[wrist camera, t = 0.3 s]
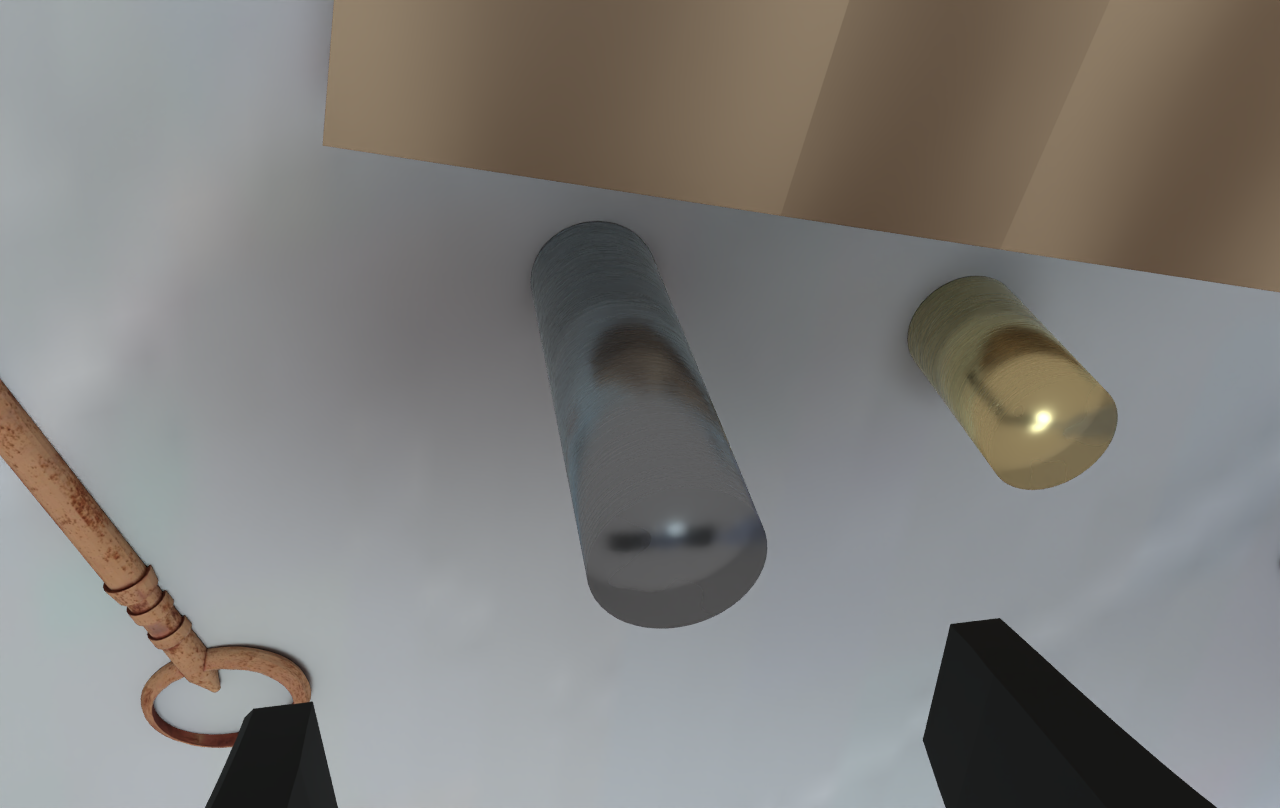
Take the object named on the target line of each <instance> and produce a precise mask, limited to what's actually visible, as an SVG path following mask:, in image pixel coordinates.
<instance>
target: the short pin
mask: <svg viewBox="0 0 1280 808" xmlns="http://www.w3.org/2000/svg"><path fill="white" fill-rule="evenodd" d="M908 347H909V351H910V354H911V356H912V358H913V359H914V361H915V362H916V364H917V365H918V366H919V368H920V369H921V370H922V372H923V373H924V375H925V376H926V377H927V379H928V380H929V382H930V383H931V384H932V386H933V387H934V388H935V390H936V391H937V393H938V394H939V395H940V397H941V398H942V399H943V401H944V402H945V404H946V405H947V406H948V408H949V409H950V411H951V412H952V413H953V415H954V416H955V417H956V419H957V420H958V422H959V423H960V424H961V426H962V427H963V428H964V430H965V431H966V433H967V434H968V435H969V437H970V438H971V440H972V441H973V442H974V444H975V445H976V446H977V448H978V449H979V451H980V452H981V453H982V455H983V456H984V458H985V459H986V460H987V462H988V463H989V464H990V466H991V467H992V469H993V470H994V471H995V473H996V474H997V475H998V477H999V478H1000V479H1001V480H1002V481H1004V482H1005V483H1007V484H1009V485H1011V486H1013V487H1016V488H1020V489H1026V490H1037V489H1045V488H1050V487H1054V486H1057V485H1060V484H1062V483H1065V482H1067V481H1069V480H1071V479H1073V478H1075V477H1076V476H1078V475H1080V474H1081V473H1083V472H1084V471H1085V470H1087V469H1088V468H1089V467H1090V466H1092V465H1093V464H1094V463H1095V462H1096V461H1097V460H1098V459H1099V458H1100V457H1101V455H1102V454H1103V453H1104V452H1105V450H1106V449H1107V447H1108V446H1109V444H1110V442H1111V440H1112V438H1113V436H1114V433H1115V430H1116V426H1117V417H1118V415H1117V408H1116V405H1115V402H1114V400H1113V399H1112V397H1111V396H1110V395H1109V393H1108V392H1107V391H1106V390H1105V389H1104V388H1103V387H1102V386H1101V385H1100V384H1099V383H1098V382H1097V381H1096V380H1095V379H1094V378H1093V377H1092V376H1091V375H1090V373H1089V372H1088V371H1087V370H1086V369H1085V368H1084V367H1083V366H1082V365H1081V364H1080V363H1079V362H1078V361H1077V360H1076V359H1075V358H1074V357H1073V356H1072V355H1071V354H1070V353H1069V352H1068V351H1067V349H1066V348H1065V347H1064V346H1063V345H1062V344H1061V343H1060V342H1059V341H1058V340H1057V339H1056V338H1055V337H1054V336H1053V335H1052V334H1051V333H1050V332H1049V331H1048V330H1047V329H1046V328H1045V327H1044V325H1043V324H1042V323H1041V322H1040V321H1039V320H1038V319H1037V318H1036V317H1035V316H1034V315H1033V314H1032V313H1031V312H1030V311H1029V310H1028V309H1027V308H1026V307H1025V306H1024V305H1023V304H1022V303H1021V301H1020V300H1019V299H1018V298H1017V297H1016V296H1015V295H1014V294H1013V293H1012V292H1011V291H1010V290H1009V289H1008V288H1007V287H1006V286H1005V285H1004V284H1002V283H1001V282H999V281H997V280H995V279H992V278H988V277H983V276H970V277H965V278H961V279H957V280H954V281H952V282H949V283H947V284H945V285H944V286H942V287H940V288H939V289H937V290H936V291H934V292H933V293H932V294H931V295H930V296H929V297H928V298H927V299H926V300H925V301H924V302H923V303H922V304H921V305H920V307H919V308H918V309H917V311H916V313H915V314H914V316H913V318H912V321H911V323H910V326H909V331H908Z"/></svg>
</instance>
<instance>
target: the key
mask: <svg viewBox="0 0 1280 808" xmlns="http://www.w3.org/2000/svg"><path fill="white" fill-rule="evenodd" d="M0 455H1V457H2V458H3V459H4V460H5V461H6V463H7V464H8V465H9V466H10V468H11V469H12V470H13V471H14V473H15V474H16V475H17V476H18V477H19V479H20V480H21V481H22V482H23V484H24V485H25V486H26V487H27V488H28V490H29V491H30V492H31V493H32V495H33V496H34V497H35V498H36V499H37V501H38V502H39V503H40V504H41V506H42V507H43V508H44V509H45V510H46V512H47V513H48V514H49V515H50V517H51V518H52V519H53V520H54V521H55V523H56V524H57V525H58V526H59V528H60V529H61V530H62V531H63V532H64V534H65V535H66V536H67V537H68V539H69V540H70V541H71V542H72V544H73V545H74V546H75V547H76V548H77V550H78V551H79V552H80V553H81V555H82V556H83V557H84V558H85V559H86V561H87V562H88V563H89V564H90V566H91V567H92V568H93V569H94V570H95V572H96V573H97V574H98V575H99V577H100V578H101V579H102V580H103V581H104V585H103V588H104V591H105V592H106V593H108V594H109V595H110V596H111V597H112V598H113V599H114V600H116V601H117V602H118V603H119V604H120V605H123V606H127V613H128V614H129V616H130V617H131V618H132V619H133V620H134V622H135V623H136V624H137V625H139V626H144V628H145V629H146V630H147V631H148V634H147V635H148V638H149V639H150V641H151V642H152V643H153V644H154V646H155V647H156V648H158V649H162V650H163V651H164V652H165V654H166V655H167V656H168V657H169V658H170V660H171V662H170V663H168V664H166V665H165V666H163V667H162V668H161V669H159V670H158V671H157V672H156V673H155V674H154V675H153V676H152V677H151V678H150V679H149V680H148V682H147V683H146V684H145V686H144V688H143V690H142V695H141V707H142V710H143V713H144V715H145V718H146V719H147V721H148V722H149V724H150V725H151V726H152V727H153V728H154V729H155V730H157V731H158V732H160V733H161V734H163V735H164V736H166V737H169V738H171V739H173V740H176V741H180V742H183V743H186V744H190V745H194V746H200V747H212V748H224V747H233V745H234V743H235V740H236V738H237V736H238V733H239V732H237V733H230V734H217V735H209V734H198V733H191V732H187V731H184V730H180V729H178V728H175V727H173V726H171V725H169V724H168V723H166V722H165V721H164V720H163V719H161V718H160V717H159V715H158V714H157V712H156V711H155V708H154V705H153V701H154V700H155V698H156V697H157V695H158V694H159V693H160V692H161V691H162V690H163V689H165V688H166V687H167V686H168V685H170V684H171V683H172V682H174V681H177V680H179V679H181V678H183V677H185V678H186V679H187V680H188V681H189V682H191V683H194V684H196V685H199V686H201V687H203V688H206V689H208V690H210V691H212V692H217V691H219V690H220V688H221V686H220V682H219V676H218V669H231V670H235V669H237V670H249V671H253V672H258V673H261V674H264V675H266V676H269V677H271V678H273V679H274V680H276V681H278V682H279V683H281V684H282V685H283V686H285V687H286V689H287V690H288V691H289V692H290V694H291V696H292V697H293V701H294V702H293V704H297V703H305V702H310V699H311V689H310V684H309V682H308V680H307V678H306V677H305V675H304V673H303V671H302V670H301V669H300V668H299V667H298V666H297V665H296V664H294V663H293V662H292V661H290V660H289V659H287V658H285V657H283V656H281V655H278V654H276V653H273V652H270V651H265V650H261V649H256V648H250V647H241V646H231V647H218V648H209V649H207V648H206V647H205V646H204V645H203V643H202V642H201V641H200V639H199V638H198V637H197V636H196V634H195V633H194V632H193V631H192V629H191V627H192V624H191V623H190V622H189V620H188V619H187V618H186V616H185V615H184V616H183V617H182V616H181V615H180V614H179V613H178V611H177V610H176V609H175V607H174V606H173V603H174V601H173V599H172V598H171V597H170V595H169V594H168V593H167V591H166V590H165V591H164V592H162V591H161V590H160V588H159V587H158V586H157V584H158V579H157V577H156V575H155V573H154V571H153V569H152V567H151V565H149V566H148V567H146V566H145V565H144V563H143V562H142V561H141V560H140V558H139V557H138V556H137V554H136V553H135V552H134V551H133V549H132V548H131V547H130V545H129V544H128V543H127V542H126V540H125V539H124V538H123V536H122V535H121V534H120V533H119V531H118V530H117V529H116V527H115V526H114V525H113V524H112V522H111V521H110V520H109V518H108V517H107V516H106V515H105V513H104V512H103V511H102V509H101V508H100V507H99V506H98V504H97V503H96V502H95V500H94V499H93V498H92V497H91V495H90V494H89V493H88V491H87V490H86V489H85V488H84V486H83V485H82V484H81V482H80V481H79V480H78V479H77V477H76V476H75V475H74V473H73V472H72V471H71V470H70V468H69V467H68V466H67V464H66V463H65V462H64V461H63V459H62V458H61V457H60V455H59V454H58V453H57V452H56V450H55V449H54V448H53V446H52V445H51V444H50V442H49V441H48V440H47V439H46V437H45V436H44V435H43V433H42V432H41V431H40V430H39V428H38V427H37V426H36V424H35V423H34V422H33V421H32V419H31V418H30V417H29V415H28V414H27V413H26V412H25V410H24V409H23V408H22V406H21V405H20V404H19V403H18V401H17V400H16V399H15V397H14V396H13V395H12V394H11V392H10V391H9V390H8V388H7V387H6V386H5V385H4V383H3V382H2V381H1V379H0Z"/></svg>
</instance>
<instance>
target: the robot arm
mask: <svg viewBox="0 0 1280 808" xmlns="http://www.w3.org/2000/svg"><path fill="white" fill-rule="evenodd" d="M923 742H924V745H925V748H926V751H927V754H928V757H929V760H930V763H931V766H932V769H933V772H934V775H935V778H936V781H937V784H938V787H939V790H940V793H941V796H942V798H943V801H944V804H945V807H946V808H1217V807H1216V806H1214V805H1213V804H1212V803H1210V802H1209V801H1208V800H1207V799H1205V798H1204V797H1203V796H1201V795H1200V794H1199V793H1198V792H1196V791H1195V790H1194V789H1193V788H1192V787H1190V786H1189V785H1188V784H1187V783H1185V782H1184V781H1183V780H1182V779H1181V778H1179V777H1178V776H1177V775H1176V774H1174V773H1173V772H1172V771H1171V770H1170V769H1168V768H1167V767H1166V766H1165V765H1164V764H1163V763H1161V762H1160V761H1159V760H1158V759H1157V758H1156V757H1154V756H1153V755H1152V754H1151V753H1150V752H1149V751H1147V750H1146V749H1145V748H1144V747H1143V746H1142V745H1140V744H1139V743H1138V742H1137V741H1136V740H1135V739H1133V738H1132V737H1131V736H1130V735H1129V734H1128V733H1126V732H1125V731H1124V730H1123V729H1122V728H1121V727H1120V726H1118V725H1117V724H1116V723H1115V722H1114V721H1113V720H1112V719H1111V718H1109V717H1108V716H1107V715H1106V714H1105V713H1104V712H1103V711H1102V710H1100V709H1099V708H1098V707H1097V706H1096V705H1095V704H1094V703H1093V702H1092V701H1090V700H1089V699H1088V698H1087V697H1086V696H1085V695H1084V694H1083V693H1082V692H1080V691H1079V690H1078V689H1077V688H1076V687H1075V686H1074V685H1073V684H1072V683H1071V682H1069V681H1068V680H1067V679H1066V678H1065V677H1064V676H1063V675H1062V674H1061V673H1060V672H1058V671H1057V670H1056V669H1055V668H1054V667H1053V666H1052V665H1051V664H1050V663H1049V662H1048V661H1046V660H1045V659H1044V658H1043V657H1042V656H1041V655H1040V654H1039V653H1038V652H1037V651H1036V650H1034V649H1033V648H1032V647H1031V646H1030V645H1029V644H1028V643H1027V642H1026V641H1025V640H1023V639H1022V638H1021V637H1020V636H1019V635H1018V634H1017V633H1016V632H1015V631H1014V630H1012V629H1011V628H1010V627H1009V626H1008V625H1007V624H1006V623H1005V622H1004V621H1002V620H1001V619H1000V618H997V619H989V620H981V621H972V622H964V623H956V624H950V628H949V633H948V637H947V641H946V645H945V649H944V654H943V658H942V662H941V666H940V670H939V674H938V679H937V683H936V687H935V691H934V695H933V700H932V704H931V708H930V712H929V716H928V720H927V725H926V729H925V733H924V737H923ZM205 808H338V806H337V802H336V798H335V794H334V789H333V785H332V781H331V777H330V772H329V768H328V764H327V760H326V756H325V751H324V747H323V743H322V739H321V734H320V730H319V726H318V722H317V718H316V713H315V709H314V705H313V702H305V703H297V704H289V705H281V706H273V707H264V708H256V709H253V710H252V711H251V712H250V713H249V714H248V715H247V716H246V717H245V718H244V721H243V723H242V726H241V728H240V731H239V733H238V736H237V738H236V740H235V743H234V745H233V748H232V750H231V752H230V754H229V757H228V759H227V761H226V764H225V766H224V768H223V770H222V773H221V775H220V777H219V779H218V781H217V783H216V786H215V788H214V790H213V792H212V794H211V796H210V798H209V800H208V802H207V805H206V807H205Z"/></svg>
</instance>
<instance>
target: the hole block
mask: <svg viewBox="0 0 1280 808" xmlns="http://www.w3.org/2000/svg"><path fill="white" fill-rule="evenodd" d="M323 146H329V147H336V148H342V149H349V150H355V151H362V152H368V153H375V154H381V155H388V156H395V157H401V158H408V159H414V160H421V161H427V162H434V163H440V164H447V165H453V166H460V167H466V168H473V169H479V170H486V171H492V172H499V173H505V174H512V175H518V176H525V177H531V178H538V179H544V180H551V181H557V182H564V183H571V184H577V185H584V186H590V187H597V188H603V189H610V190H616V191H623V192H629V193H636V194H642V195H649V196H655V197H662V198H668V199H675V200H681V201H688V202H694V203H701V204H707V205H714V206H720V207H727V208H733V209H740V210H747V211H753V212H760V213H766V214H773V215H779V216H786V217H792V218H799V219H805V220H812V221H818V222H825V223H831V224H838V225H844V226H851V227H857V228H864V229H870V230H877V231H883V232H890V233H896V234H903V235H909V236H916V237H923V238H929V239H936V240H942V241H949V242H955V243H962V244H968V245H975V246H981V247H988V248H994V249H1001V250H1007V251H1014V252H1020V253H1027V254H1033V255H1040V256H1046V257H1053V258H1059V259H1066V260H1072V261H1079V262H1085V263H1092V264H1099V265H1105V266H1112V267H1118V268H1125V269H1131V270H1138V271H1144V272H1151V273H1157V274H1164V275H1170V276H1177V277H1183V278H1190V279H1196V280H1203V281H1209V282H1216V283H1222V284H1229V285H1235V286H1242V287H1248V288H1255V289H1261V290H1268V291H1274V292H1280V0H334V7H333V20H332V32H331V45H330V58H329V71H328V84H327V97H326V109H325V122H324V135H323Z"/></svg>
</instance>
